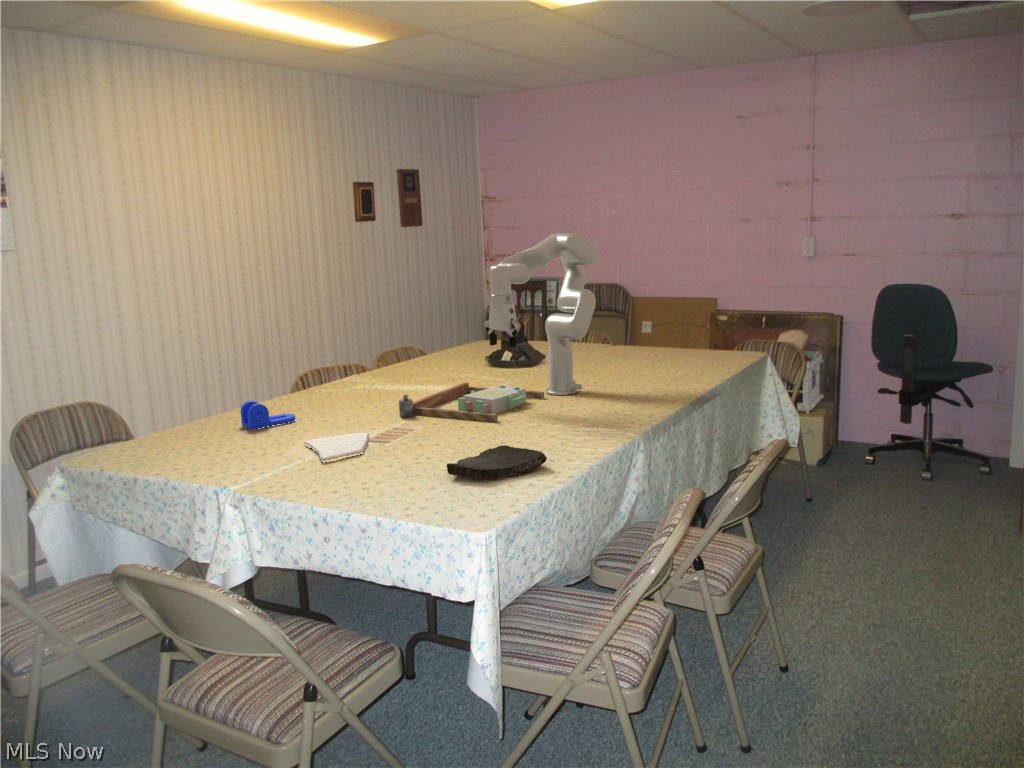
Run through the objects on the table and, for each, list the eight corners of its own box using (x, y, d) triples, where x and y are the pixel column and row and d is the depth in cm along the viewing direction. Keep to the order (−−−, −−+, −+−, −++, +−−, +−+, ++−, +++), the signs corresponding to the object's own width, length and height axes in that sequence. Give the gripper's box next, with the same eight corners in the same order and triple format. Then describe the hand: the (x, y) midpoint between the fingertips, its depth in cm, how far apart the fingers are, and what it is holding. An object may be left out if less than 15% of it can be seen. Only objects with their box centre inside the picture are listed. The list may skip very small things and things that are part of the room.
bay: (544, 398, 321) (543, 378, 319) (487, 426, 282) (486, 403, 280) (461, 391, 338) (460, 372, 337) (397, 417, 299) (395, 395, 297)
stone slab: (440, 488, 230) (488, 489, 215) (435, 465, 229) (483, 465, 215) (505, 464, 248) (554, 463, 233) (501, 442, 247) (550, 441, 233)
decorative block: (494, 382, 324) (534, 387, 312) (495, 398, 325) (535, 404, 313) (449, 395, 305) (490, 401, 292) (450, 412, 306) (490, 418, 293)
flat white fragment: (304, 450, 267) (318, 467, 245) (303, 440, 267) (317, 456, 244) (368, 438, 275) (387, 454, 253) (366, 428, 275) (386, 443, 252)
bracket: (251, 431, 288) (248, 406, 286) (242, 427, 294) (239, 402, 292) (299, 421, 298) (297, 397, 297) (289, 418, 305) (287, 394, 303)
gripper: (525, 299, 296) (527, 346, 300) (491, 297, 308) (493, 342, 311) (511, 301, 291) (513, 349, 294) (477, 299, 302) (479, 345, 306)
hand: (503, 346), depth 303 cm, fingers open, 9 cm apart
